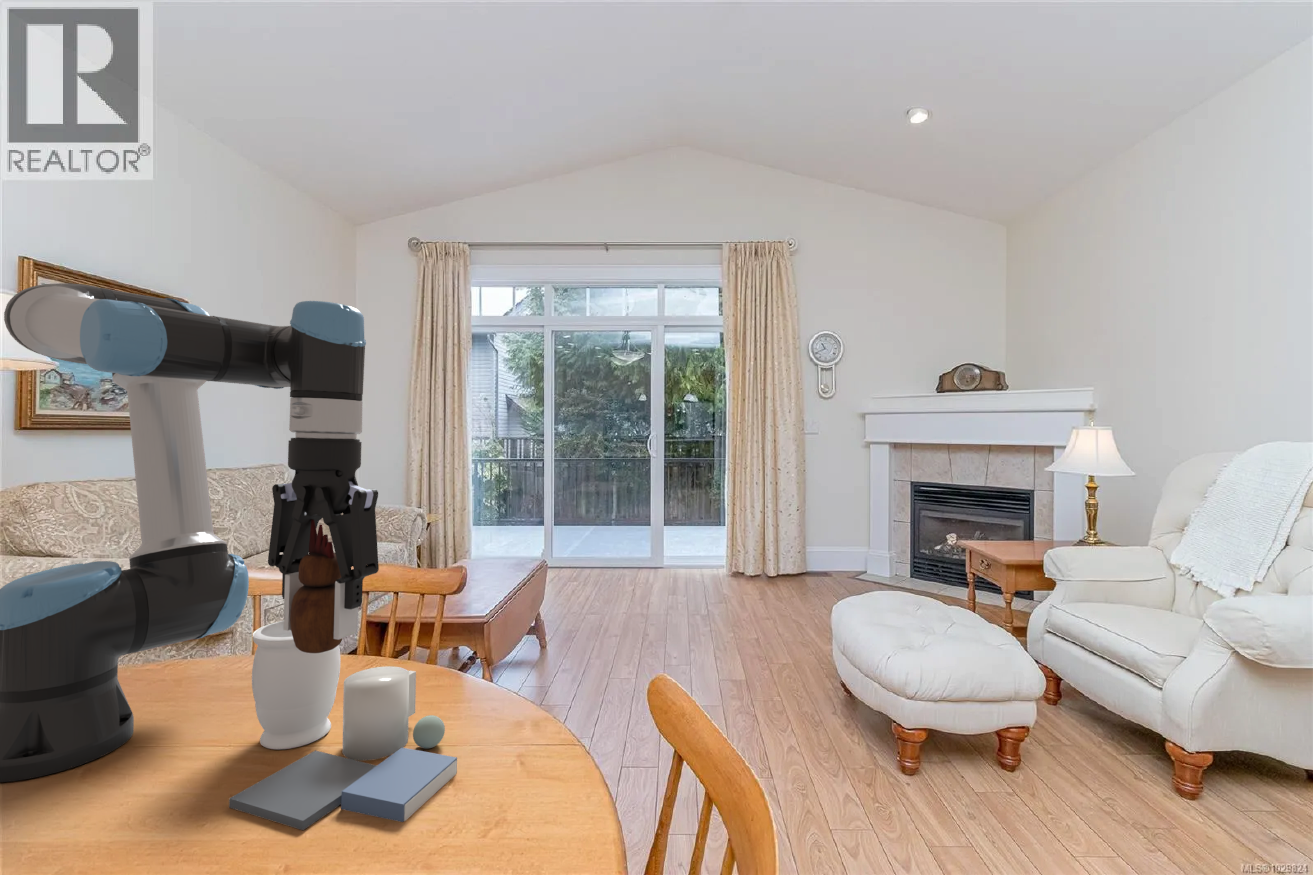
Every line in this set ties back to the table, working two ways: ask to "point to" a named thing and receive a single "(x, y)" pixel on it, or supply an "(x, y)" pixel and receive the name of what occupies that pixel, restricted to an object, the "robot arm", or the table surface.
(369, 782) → the book
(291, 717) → the jar
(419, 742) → the ball
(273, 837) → the table surface
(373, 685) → the mug
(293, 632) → the wooden figurine
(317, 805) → the coaster
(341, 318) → the robot arm
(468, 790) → the table surface
